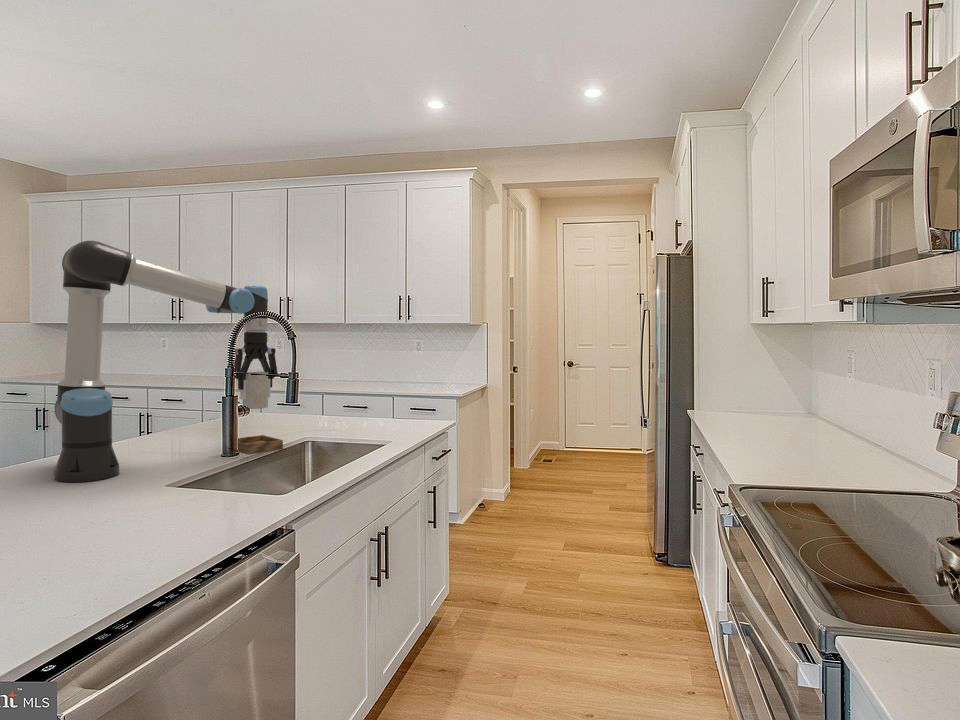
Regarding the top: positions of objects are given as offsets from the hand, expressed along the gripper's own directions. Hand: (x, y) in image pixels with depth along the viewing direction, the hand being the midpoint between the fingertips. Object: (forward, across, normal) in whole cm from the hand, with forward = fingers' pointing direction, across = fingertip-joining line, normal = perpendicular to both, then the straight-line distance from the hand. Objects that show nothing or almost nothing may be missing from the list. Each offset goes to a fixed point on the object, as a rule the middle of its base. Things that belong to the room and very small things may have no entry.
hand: (255, 398), depth 211 cm
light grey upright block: (+3, 0, 0) cm, 3 cm away
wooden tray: (+17, 0, 0) cm, 17 cm away
